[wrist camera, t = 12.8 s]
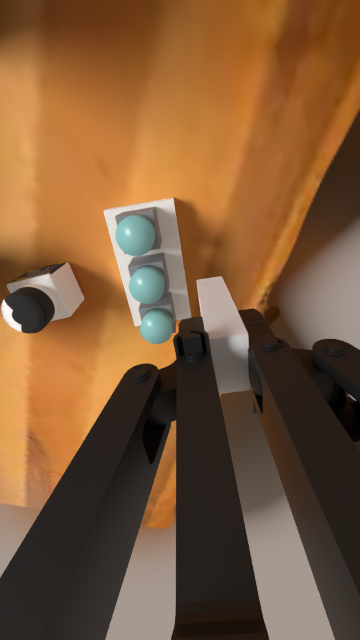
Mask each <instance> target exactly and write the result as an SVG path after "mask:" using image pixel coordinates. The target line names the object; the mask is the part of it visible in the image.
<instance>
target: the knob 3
mask: <svg viewBox="0 0 360 640" xmlns="http://www.w3.org/2000/svg"><path fill="white" fill-rule="evenodd" d="M172 327H173V320H172V317H171V315H170V313H169V312H168V311H166V310H164V309H162V308H152V309H150V310H148V311H147V312H146V313H145V314H144V315H143V318H142V322H141V326H140V333H141V335H142V337H143V338H144V339H145V340H146V341H148V342H150V343H153V344H160V343H164V342H166V341H167V340H168V339H169V338H170V337H171V335H172Z"/></svg>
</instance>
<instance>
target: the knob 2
mask: <svg viewBox="0 0 360 640" xmlns="http://www.w3.org/2000/svg"><path fill="white" fill-rule="evenodd" d="M164 286H165V278H164V275H163V273H162V272H161V271H160V269H158V268H157V267H155V266H152V265H143V266H140V267H139V268H137V269H136V270H135V271H134V273H133V275H132V277H131V279H130V282H129V291H130V293H131V295H132V297H133V298H134V299H135V300H137V301H138V302H141V303H144V304H151V303H154V302H156V301H158V300H159V299H160V298H161V297H162V295H163V292H164Z"/></svg>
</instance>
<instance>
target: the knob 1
mask: <svg viewBox="0 0 360 640" xmlns="http://www.w3.org/2000/svg"><path fill="white" fill-rule="evenodd" d="M115 236H116V241H117V244H118V246H119V247H120V249H121V250H122V251H123V252H125V253H126V254H128V255H131V256H142V255H144V254H146V253H147V252H149V251H150V249H151V248H152V246H153V244H154V241H155V238H156V230H155V227H154V225H153V223H152V222H151V220H150V219H149V218H147V217H146V216H144V215H141V214H132V215H129V216H128V217H126V218H125V219H123V220H122V221H121V222H120V223H119V224H118V226H117V229H116V234H115Z"/></svg>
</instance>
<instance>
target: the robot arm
mask: <svg viewBox="0 0 360 640" xmlns="http://www.w3.org/2000/svg"><path fill="white" fill-rule="evenodd" d="M196 281H197V289H198V296H199V304H200V312H201V317H195V318H188V319H183V320H182V321H181V322H180V324H179V333H177V334H176V335H175V336H174V339H173V342H174V347H175V352H176V357H177V360H176V361H175V362H174V363H172V364H171V365H169V366H167V367H165V368H162V369H159V370H158V368H157V367H156V366H154V365H153V364H139V365H137V366H134V367H132V368H131V369H129V370H128V371H127V372H126V373H125V374H124V376H123V377H122V379H121V381H120V382H119V384H118V386H117V387H116V389H115V391H114V392H113V394H112V395H111V397H110V399H109V400H108V402H107V404H106V405H105V407H104V409H103V410H102V412H101V414H100V415H99V417H98V418H97V420H96V422H95V423H94V425H93V427H92V428H91V430H90V432H89V433H88V435H87V436H86V438H85V440H84V441H83V443H82V445H81V446H80V448H79V450H78V451H77V453H76V455H75V456H74V458H73V459H72V461H71V463H70V464H69V466H68V468H67V469H66V471H65V473H64V474H63V476H62V477H61V479H60V481H59V482H58V484H57V486H56V487H55V489H54V491H53V492H52V494H51V496H50V497H49V499H48V500H47V502H46V504H45V505H44V507H43V509H42V510H41V512H40V514H39V515H38V517H37V519H36V520H35V522H34V523H33V525H32V527H31V528H30V530H29V532H28V533H27V535H26V537H25V538H24V540H23V541H22V543H21V545H20V547H19V548H18V550H17V551H16V553H15V555H14V556H13V558H12V560H11V561H10V563H9V565H8V566H7V568H6V569H5V571H4V573H3V574H2V576H1V578H0V640H105V638H106V635H107V631H108V628H109V625H110V622H111V619H112V615H113V612H114V609H115V605H116V602H117V599H118V596H119V592H120V589H121V586H122V583H123V580H124V576H125V573H126V570H127V567H128V563H129V560H130V557H131V553H132V550H133V547H134V544H135V541H136V537H137V534H138V531H139V528H140V524H141V521H142V518H143V515H144V511H145V508H146V505H147V502H148V498H149V495H150V492H151V489H152V485H153V482H154V479H155V476H156V472H157V469H158V466H159V463H160V459H161V456H162V453H163V450H164V446H165V443H166V440H167V437H168V433H169V430H170V427H171V422H172V421H175V420H176V616H175V625H174V630H173V634H172V637H171V640H269V637H268V632H267V629H266V626H265V622H264V619H263V615H262V610H261V605H260V601H259V596H258V591H257V586H256V580H255V575H254V571H253V565H252V561H251V555H250V550H249V545H248V540H247V534H246V529H245V524H244V519H243V514H242V509H241V504H240V499H239V494H238V489H237V484H236V478H235V474H234V468H233V463H232V458H231V453H230V448H229V443H228V438H227V433H226V428H225V422H224V417H223V412H222V407H221V402H220V397H219V394H221V393H229V392H237V391H246V390H250V382H251V385H252V388H253V405H254V407H253V408H254V413H256V411H258V414H259V417H260V420H261V423H262V426H263V429H264V432H265V435H266V438H267V440H268V444H269V447H270V450H271V453H272V456H273V459H274V461H275V464H276V467H277V470H278V473H279V476H280V479H281V482H282V485H283V488H284V491H285V494H286V496H287V500H288V502H289V505H290V508H291V511H292V514H293V517H294V520H295V523H296V526H297V529H298V532H299V535H300V538H301V540H302V543H303V547H304V549H305V552H306V555H307V558H308V561H309V564H310V567H311V570H312V573H313V576H314V579H315V582H316V585H317V587H318V591H319V593H320V596H321V599H322V602H323V605H324V608H325V611H326V614H327V617H328V619H329V623H330V626H331V629H332V631H333V635H334V637H335V640H360V350H359V349H357V348H355V347H354V346H352V345H350V344H349V343H346V342H344V341H341V340H336V339H323V340H319V341H317V342H315V343H314V345H313V348H312V350H303V349H294V348H290V346H289V345H288V343H287V342H285V341H284V340H283V339H280V338H278V337H275V335H274V333H273V332H272V330H271V329H270V327H269V325H268V324H267V322H266V321H265V319H264V317H263V316H262V314H261V313H260V312H258V311H257V310H255V309H247V310H239V311H237V308H236V306H235V304H234V302H233V300H232V298H231V295H230V293H229V291H228V289H227V287H226V284H225V282H224V280H223V278H222V276H219V277H213V278H206V279H199V280H196ZM349 394H350V395H351V396H352V397H354V398H355V399H356V401H355V400H353V399H352V398H350V397H349V396H348V395H349Z"/></svg>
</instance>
